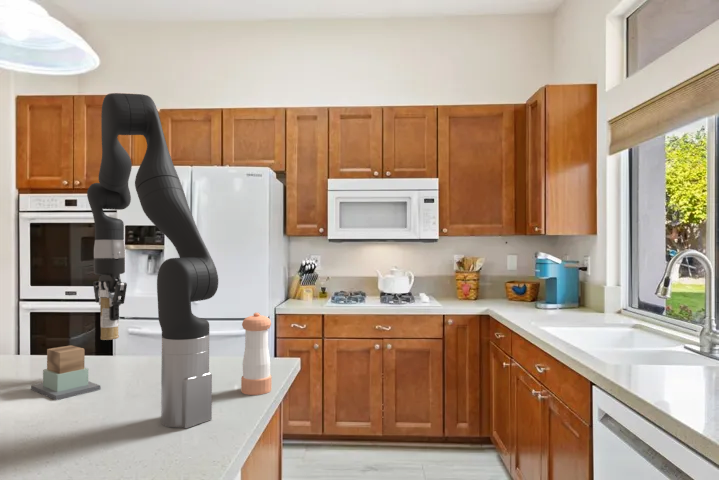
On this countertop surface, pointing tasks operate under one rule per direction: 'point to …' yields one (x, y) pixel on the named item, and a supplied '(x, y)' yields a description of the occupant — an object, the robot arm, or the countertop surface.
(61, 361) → the walnut brick
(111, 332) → the sprinkles bottle
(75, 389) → the build plate
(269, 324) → the salt shaker
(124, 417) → the countertop surface
